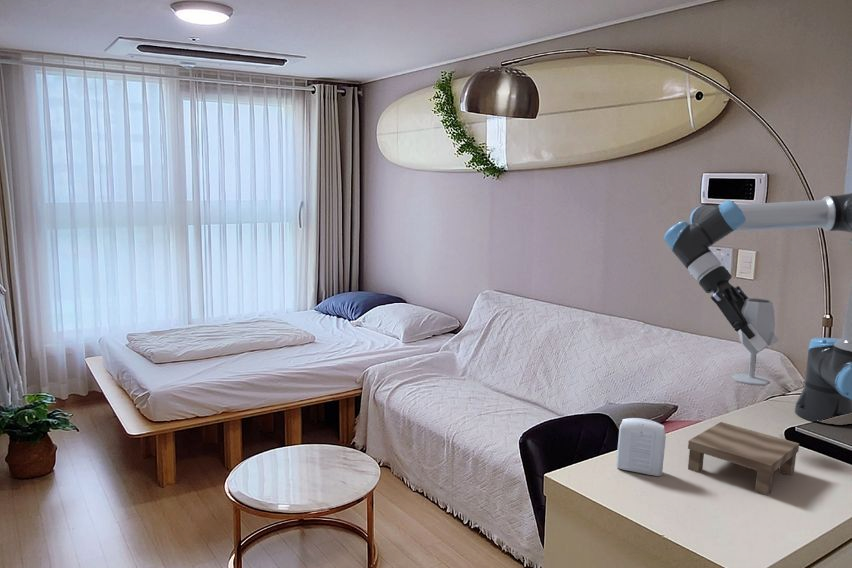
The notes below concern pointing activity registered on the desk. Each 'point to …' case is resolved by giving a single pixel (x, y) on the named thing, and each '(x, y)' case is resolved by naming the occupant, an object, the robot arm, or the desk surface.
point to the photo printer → (641, 446)
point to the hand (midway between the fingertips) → (769, 345)
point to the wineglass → (764, 323)
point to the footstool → (744, 452)
